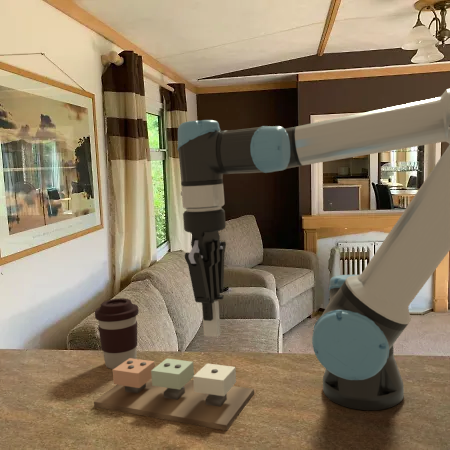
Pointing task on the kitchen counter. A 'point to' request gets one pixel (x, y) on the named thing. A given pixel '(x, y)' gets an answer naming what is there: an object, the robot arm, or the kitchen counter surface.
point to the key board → (178, 403)
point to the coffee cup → (117, 330)
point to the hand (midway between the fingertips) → (212, 335)
